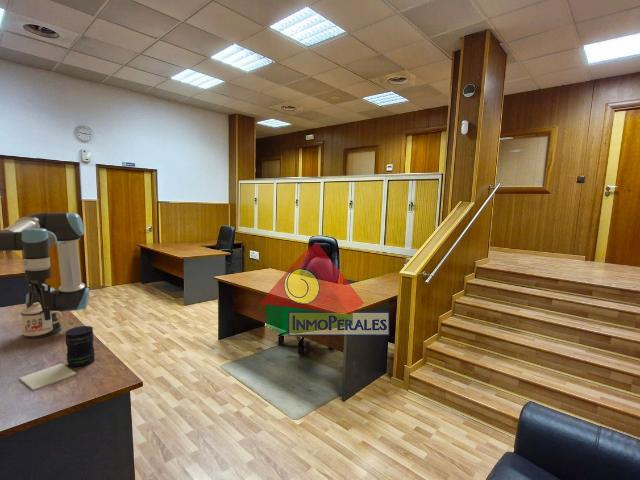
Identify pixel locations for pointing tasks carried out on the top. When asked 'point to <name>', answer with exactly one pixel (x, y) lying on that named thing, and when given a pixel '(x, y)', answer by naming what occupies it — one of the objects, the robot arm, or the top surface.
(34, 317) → the teacup with lid
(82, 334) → the dark blue canister
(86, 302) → the robot arm
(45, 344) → the top surface
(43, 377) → the coaster
